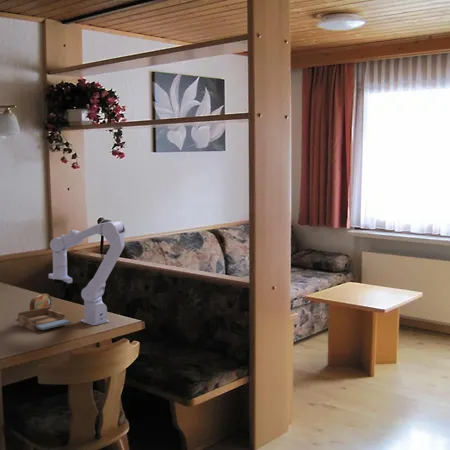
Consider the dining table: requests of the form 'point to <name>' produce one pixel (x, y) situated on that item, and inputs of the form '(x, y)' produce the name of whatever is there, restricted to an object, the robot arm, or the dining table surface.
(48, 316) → the light wood shallow box
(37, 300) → the tin
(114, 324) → the dining table surface
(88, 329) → the dining table surface
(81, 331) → the dining table surface
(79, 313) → the dining table surface
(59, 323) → the panel
